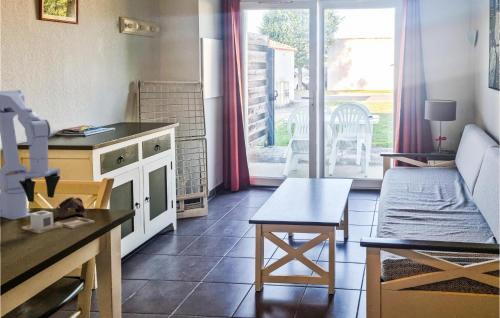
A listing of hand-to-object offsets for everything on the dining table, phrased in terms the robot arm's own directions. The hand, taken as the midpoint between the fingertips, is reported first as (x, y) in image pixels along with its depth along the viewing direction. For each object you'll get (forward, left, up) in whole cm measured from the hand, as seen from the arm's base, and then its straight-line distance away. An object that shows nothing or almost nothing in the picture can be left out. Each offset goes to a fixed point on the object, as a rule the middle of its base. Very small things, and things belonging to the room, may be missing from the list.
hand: (40, 199), depth 203 cm
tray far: (+4, +10, -10) cm, 15 cm away
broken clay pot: (-4, +16, -10) cm, 20 cm away
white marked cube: (0, 0, -10) cm, 10 cm away
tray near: (0, 0, -10) cm, 10 cm away
